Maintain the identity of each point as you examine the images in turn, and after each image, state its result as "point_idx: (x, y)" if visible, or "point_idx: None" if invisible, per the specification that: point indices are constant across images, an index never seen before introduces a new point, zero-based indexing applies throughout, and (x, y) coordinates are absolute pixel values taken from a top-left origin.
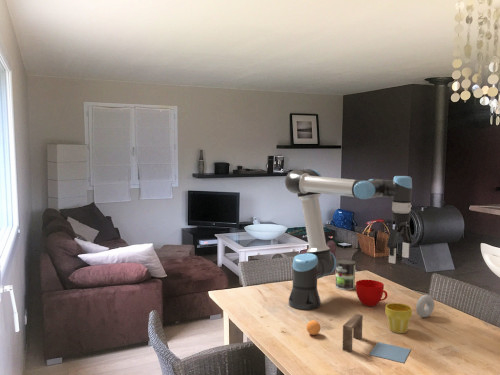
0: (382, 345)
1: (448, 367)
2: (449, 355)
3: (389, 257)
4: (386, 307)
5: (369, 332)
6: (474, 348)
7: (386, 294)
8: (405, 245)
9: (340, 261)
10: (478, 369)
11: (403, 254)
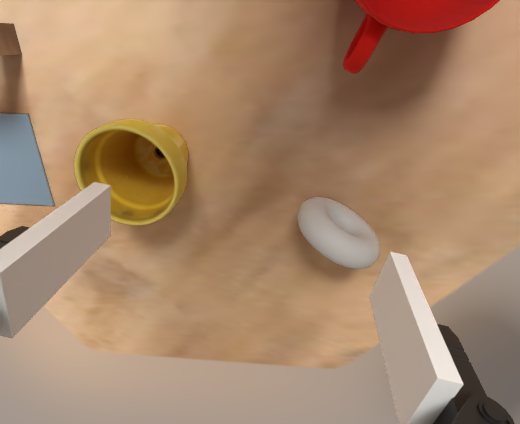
0: (15, 133)
1: None
2: (93, 283)
3: (64, 209)
4: (88, 134)
5: (78, 65)
6: (169, 326)
7: (347, 70)
8: (409, 376)
9: None
10: (70, 328)
11: (391, 279)
